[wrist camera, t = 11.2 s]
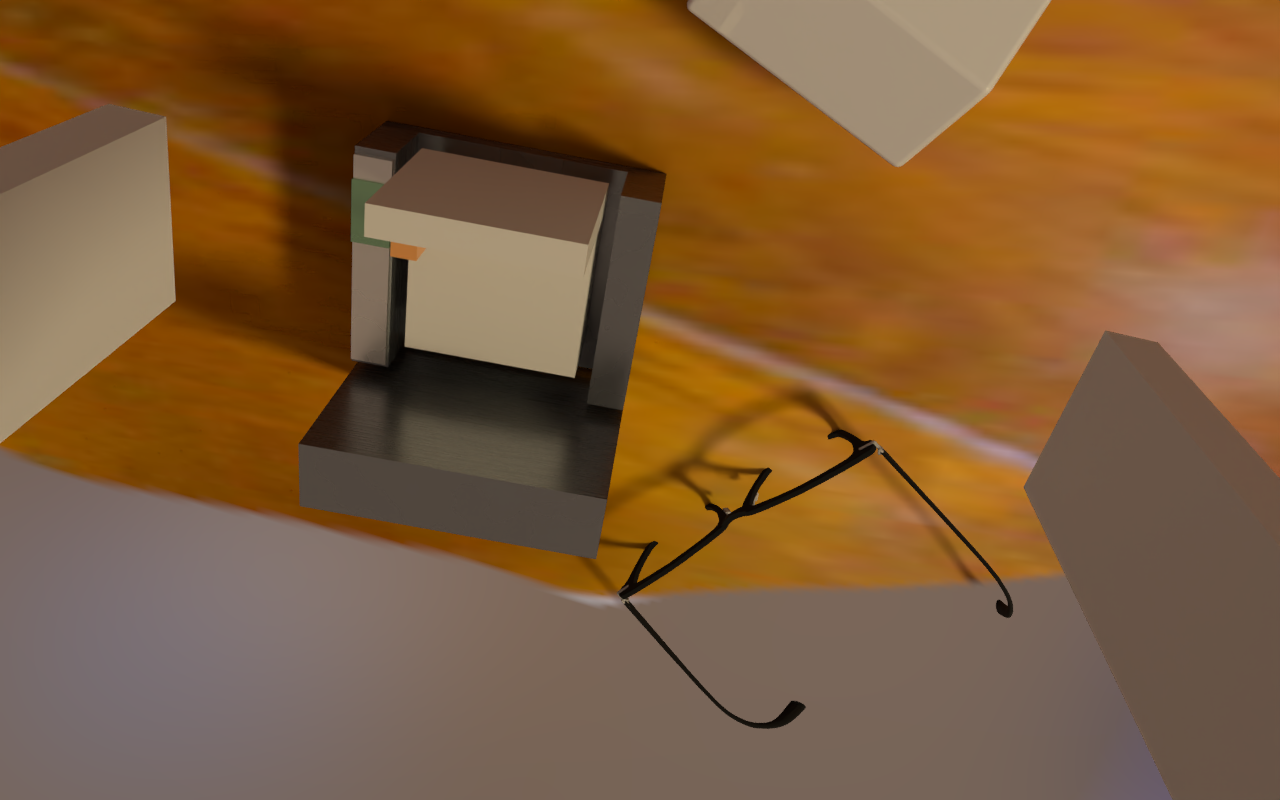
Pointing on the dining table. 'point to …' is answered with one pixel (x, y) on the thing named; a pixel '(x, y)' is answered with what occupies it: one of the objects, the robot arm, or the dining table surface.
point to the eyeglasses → (726, 516)
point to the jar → (881, 58)
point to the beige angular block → (493, 257)
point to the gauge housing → (480, 381)
